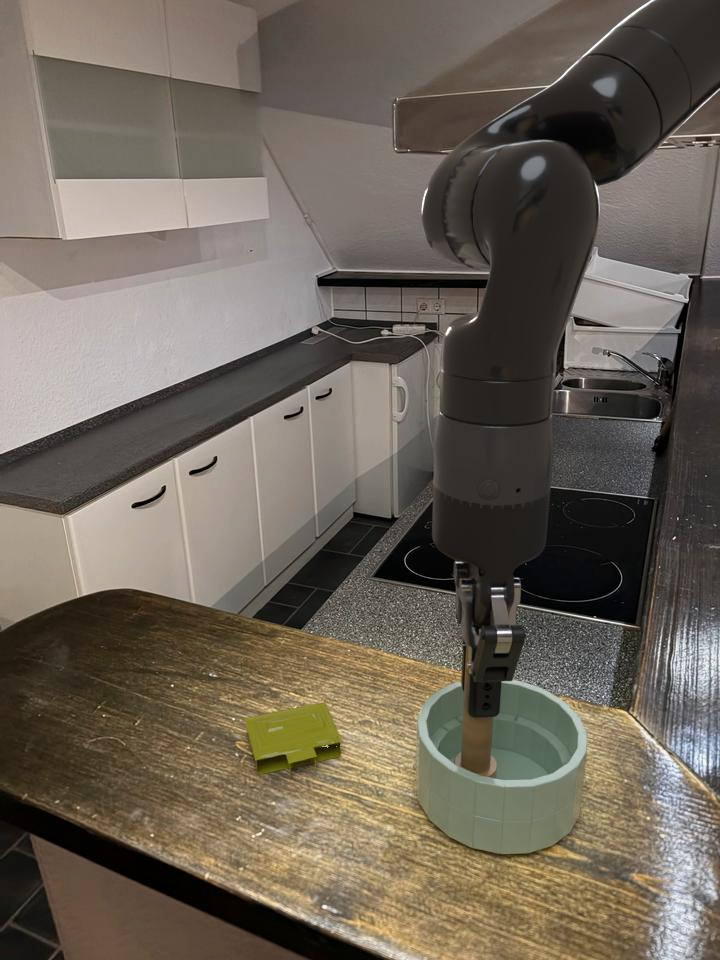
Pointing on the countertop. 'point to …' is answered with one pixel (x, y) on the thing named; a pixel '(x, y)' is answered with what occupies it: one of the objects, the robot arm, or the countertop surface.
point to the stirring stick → (476, 740)
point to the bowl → (503, 770)
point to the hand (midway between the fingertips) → (479, 700)
